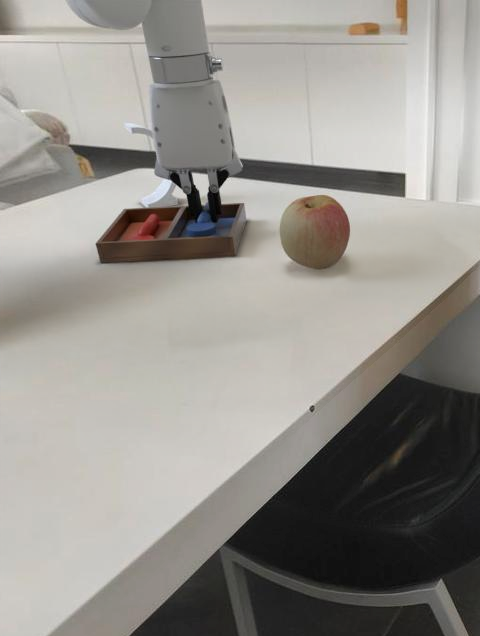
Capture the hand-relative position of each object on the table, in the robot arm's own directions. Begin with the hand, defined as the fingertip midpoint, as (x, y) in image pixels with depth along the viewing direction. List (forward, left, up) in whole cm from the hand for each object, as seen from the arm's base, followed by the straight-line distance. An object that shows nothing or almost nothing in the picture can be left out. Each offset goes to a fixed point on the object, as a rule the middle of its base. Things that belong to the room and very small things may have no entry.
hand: (207, 219), depth 97 cm
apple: (+16, -15, -2) cm, 22 cm away
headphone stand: (-10, +18, -2) cm, 21 cm away
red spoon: (-9, -2, -1) cm, 9 cm away
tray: (-4, -2, -2) cm, 5 cm away
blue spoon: (0, -2, 0) cm, 2 cm away
